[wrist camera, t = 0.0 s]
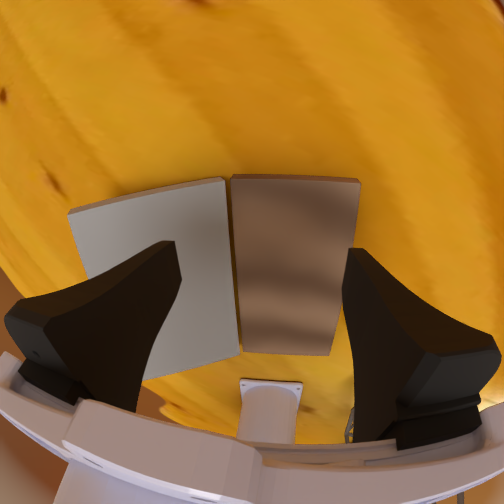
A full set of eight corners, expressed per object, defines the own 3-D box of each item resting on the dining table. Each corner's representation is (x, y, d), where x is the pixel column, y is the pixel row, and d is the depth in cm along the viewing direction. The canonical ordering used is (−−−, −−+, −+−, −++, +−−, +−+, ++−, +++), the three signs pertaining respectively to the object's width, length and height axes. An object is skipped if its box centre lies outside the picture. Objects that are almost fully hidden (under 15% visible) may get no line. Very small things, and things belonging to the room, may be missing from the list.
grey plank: (236, 346, 29) (240, 354, 28) (137, 372, 25) (138, 381, 24) (220, 176, 19) (225, 180, 18) (70, 209, 16) (67, 215, 15)
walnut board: (328, 347, 28) (329, 355, 27) (244, 343, 29) (243, 351, 28) (357, 178, 19) (360, 183, 18) (233, 174, 20) (230, 178, 19)
